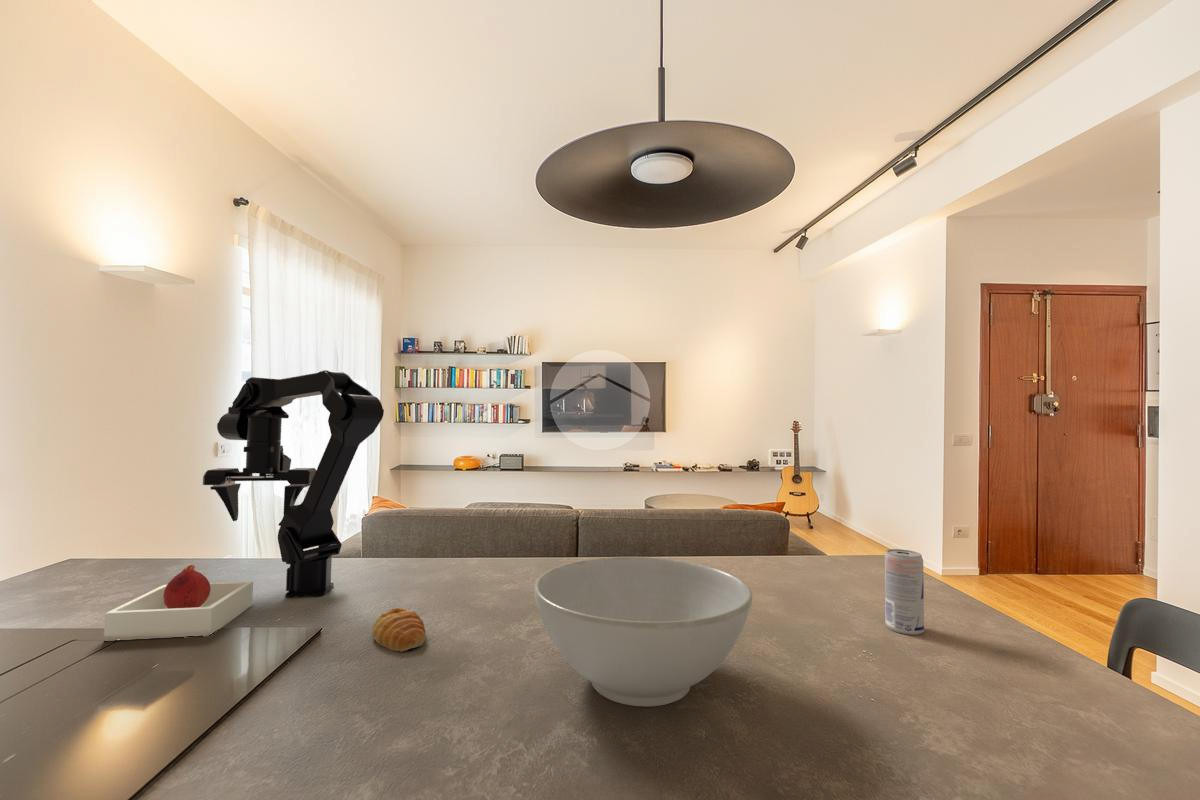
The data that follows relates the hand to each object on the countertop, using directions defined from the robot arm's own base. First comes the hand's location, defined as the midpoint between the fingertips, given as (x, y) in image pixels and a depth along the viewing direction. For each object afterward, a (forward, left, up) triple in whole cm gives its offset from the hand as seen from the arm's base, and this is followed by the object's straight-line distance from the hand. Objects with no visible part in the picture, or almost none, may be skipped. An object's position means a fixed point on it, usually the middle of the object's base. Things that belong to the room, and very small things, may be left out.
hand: (260, 520), depth 105 cm
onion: (+2, +21, -11) cm, 24 cm away
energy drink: (-110, +41, -12) cm, 118 cm away
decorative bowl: (-64, +51, -12) cm, 83 cm away
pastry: (-32, +33, -12) cm, 48 cm away
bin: (+2, +21, -12) cm, 24 cm away
